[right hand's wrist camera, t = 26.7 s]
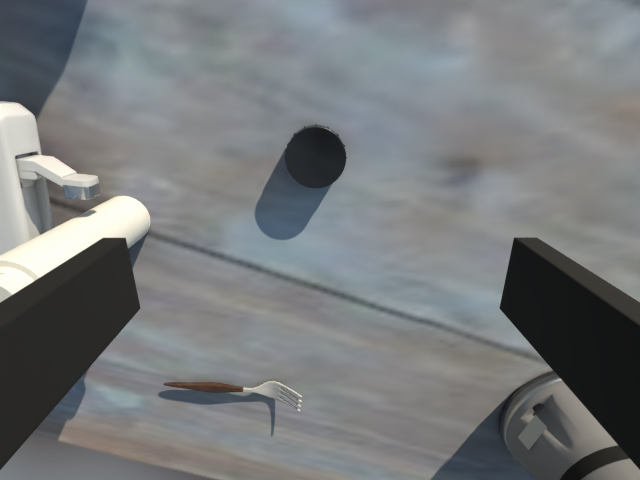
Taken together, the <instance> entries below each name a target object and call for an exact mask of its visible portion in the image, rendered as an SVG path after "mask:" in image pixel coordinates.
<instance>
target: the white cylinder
mask: <svg viewBox="0 0 640 480" xmlns="http://www.w3.org/2000/svg"><path fill="white" fill-rule="evenodd" d="M149 228H150V216H149V213H148V211H147V209H146V208H145V207H144V206H143V204H141V203H140V202H139V201H137V200H136V199H134V198H131V197H127V196H118V197H114V198H112V199H110V200H108V201H106V202H104V203H102V204H100V205H98V206H96V207H94V208H92V209H90V210H88V211H86V212H84V213H83V214H81V215H79V216H77V217H75V218H73V219H71V220H69V221H67V222H65V223H63V224H61V225H59V226H57V227H55V228H53V229H51V230H49V231H47V232H45V233H43V234H41V235H39V236H37V237H35V238H33V239H32V240H30V241H28V242H26V243H24V244H22V245H20V246H18V247H16V248H14V249H12V250H10V251H8V252H6V253H4V254H2V255H0V302H2V301H3V300H5V299H7V298H8V297H10V296H11V295H13V294H15V293H16V292H18V291H19V290H21V289H23V288H24V287H26V286H27V285H29V284H30V283H32V282H34V281H35V280H37V279H38V278H40V277H42V276H43V275H45V274H46V273H48V272H49V271H51V270H53V269H54V268H56V267H57V266H59V265H61V264H62V263H64V262H65V261H67V260H69V259H70V258H72V257H73V256H75V255H76V254H78V253H80V252H81V251H83V250H84V249H86V248H88V247H89V246H91V245H92V244H94V243H96V242H97V241H99V240H100V239H102V238H126V241H127V246H128V249H129V248H130V247H131V246H132V245H134V244H135V243H136V242H137V241H138V240H140V239H141V238H142V237H143V236H145V235H146V234H147V232H148V231H149Z"/></svg>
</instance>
